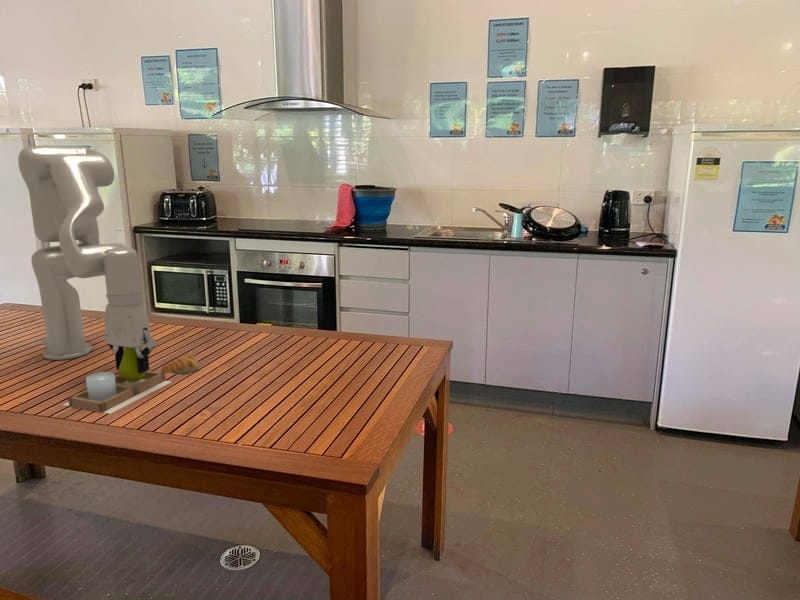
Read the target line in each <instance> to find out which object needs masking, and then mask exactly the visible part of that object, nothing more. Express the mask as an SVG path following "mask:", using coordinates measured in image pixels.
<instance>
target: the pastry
mask: <svg viewBox="0 0 800 600" xmlns="http://www.w3.org/2000/svg"><path fill="white" fill-rule="evenodd" d="M199 368H200V366H199V362H198V361H197V358H196V357H195V356H193V354H192V355H187V356H182V357H179V358H176V359H174V360H172V361H170V362H168V363H167V364H166V365H164V366H162V367H161V370H160V371H161V373H166V374H169V373H171V374H177V375H181V376H182V375H186V374H190V373H193V372H197V371H198V370H199Z"/></svg>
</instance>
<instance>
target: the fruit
mask: <svg viewBox="0 0 800 600" xmlns="http://www.w3.org/2000/svg"><path fill="white" fill-rule="evenodd" d="M137 358H138V355H137V352H136V350H135V348H128V347H125V350H124V353H123V357H122V361H121V363H120V366H119V370H118V371H117V372H118V375H120V377H121V378H122V379H123V380H125V381H127V382H136V381H139V380H141V379H142V378H143V377H144V376H145V375H146V371H145V372H143V373H141V374H140V373H138V368H137Z"/></svg>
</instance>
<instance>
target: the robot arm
mask: <svg viewBox="0 0 800 600" xmlns="http://www.w3.org/2000/svg"><path fill="white" fill-rule="evenodd" d="M17 159H18V160H17V161H18V168H19V172H20V174H21V177H22V179H23V181H24V183H25V185H26V187H27V189H28V193H29V200H30V201H29V202H30V209H31V210H30V211H31V218H32V225H33V229H34V234H35V237H36V238H37V239H38V240H39V241H41V242H43V243H59V245H55V246H54V245H53V246H47V247H42V248H39V249H37V250H36V251H34V253H33V254H32V256H31V266H32V269H33V272H34V275H35V279H36V281H37V285H38V290H39V295H40V300H41V307H42V313H43V320H44V328H45V333H46V336H45V337H44V339H42V340H41V341H40V345H43V346H45V347H46V349H45V350H44V351H43V352H42V355H43V358H44V359H47V360H52V361H53V360H54V361H61V360H62V361H63V360H70V359H76V358H80V357H83V356H86V355H88V354H89V353H91V352H92V350H93V346H92V344H89V343H86V338H85V337H86V336H85V329H84V323H83V314H82V308H81V300H80V294H79V292H78V290H77V289H76V288H75V287H74V285H72V284H71V283H69V281H68V280H70V279H73V278H74V279H75V278H79V279H89V278H95V277H102V276H104V278H105V279H104V280H105V287H106V295H105V298H106V299H107V304H106V305H105V312H104V314H105V315H104V326H105V327H104V329H105V330H104V331H105V332H104V333H105V335H104V336H103V340H104V341H105V342H106V344H108V346H109V348H110V349H111V351H112V354H113V355H114V358H115V359H114V360H115V367H116V370H119V366H120V363H121V361H122V357H123V353H124V350H125V348H126V347H128V348H135V350H136V352H137V355H138V358H137V368H138V373H140V374H141V373H143V372H145V371H150V362H149V356H150V354H151V353H152V352H153V349H155V347H156V346H157V345H158V343H157V341H156V340H155V339H154V337H152V335H151V327H150V326H151V325H150V321H149V317H148V313H147V312H148V311H147V309H146V306H145V304H144V302H143V293H142V284H141V275H140V274H141V273H140V264H139V255H138V252H137V250H136V249H134V248H132V247H127V246H126V245H125V244H123V243H121V242H114V243H104V244H103V243H100V231H99V224H98V219H97V218H98V217H99V216H100V215H101V214H102V213H103V212H104V209H105V204H104V202H103V199H102V197H101V195H100V193H99V190H98V188H100V187H101V188H103V187H104V188H105V187H109V186H112V184H113V183H114V180H115V175H116V174H115V170H114V169H115V168H114V166H113V164H112V163H111V161H110V159H109V158H108V157H107V156H106V155H105V154H103V153H102V152H100V151H97V150H95V149H93V148H91V147H88V146H83V145H34V146H27V147H25V148H22V149H21V150H20V151H19V155H18V158H17ZM141 348H142V349H143V350H142V349H141Z"/></svg>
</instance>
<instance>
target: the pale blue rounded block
mask: <svg viewBox="0 0 800 600" xmlns="http://www.w3.org/2000/svg"><path fill="white" fill-rule="evenodd" d="M115 375H116V374H115V373H114V372H112V371H99V372H95V373H92V374H89V375H87V376H86V377H85V382H86V384H85V385H86V389H87V391H88V399H91V400H96V401H104V400H106V399H108V398H110V397H113V396H115V395H117V390H116V381H115Z"/></svg>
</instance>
